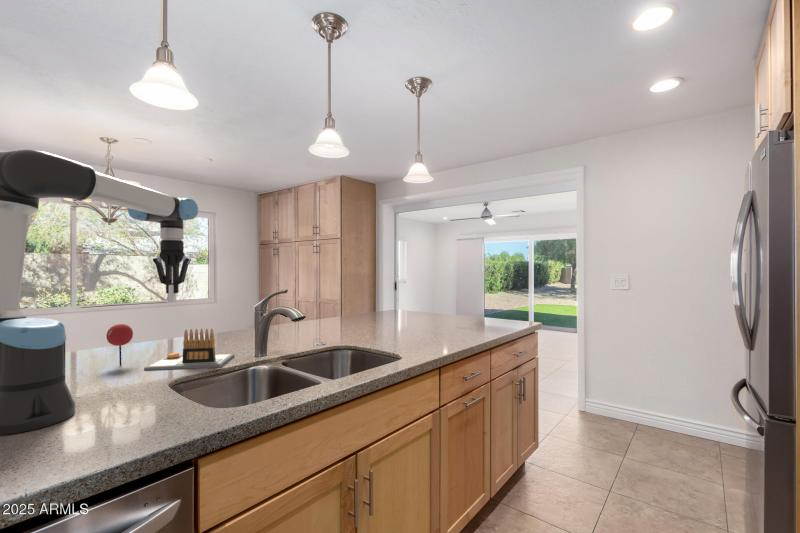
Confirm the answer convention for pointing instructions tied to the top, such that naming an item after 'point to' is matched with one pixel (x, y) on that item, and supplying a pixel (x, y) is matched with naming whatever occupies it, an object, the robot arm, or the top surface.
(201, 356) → the ammunition clip
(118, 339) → the lollipop
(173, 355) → the button
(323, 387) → the top surface
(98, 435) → the top surface
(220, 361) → the board
